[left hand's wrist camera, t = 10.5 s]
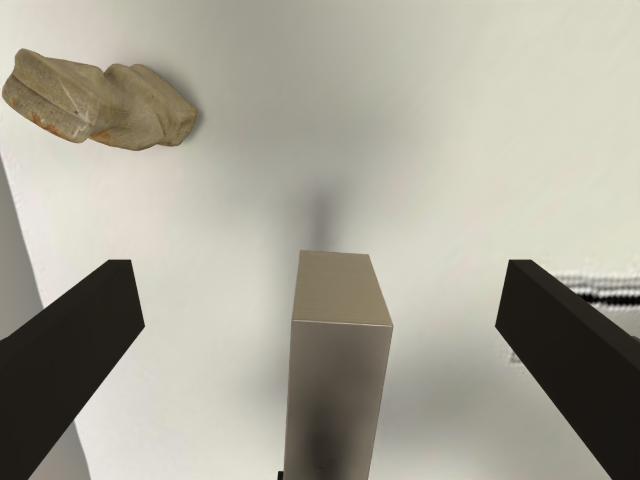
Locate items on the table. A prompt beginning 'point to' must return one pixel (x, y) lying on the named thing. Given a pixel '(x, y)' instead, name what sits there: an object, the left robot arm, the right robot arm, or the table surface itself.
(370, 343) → the bar
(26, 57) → the sculpture
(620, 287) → the table surface
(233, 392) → the table surface
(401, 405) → the table surface
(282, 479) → the right robot arm
